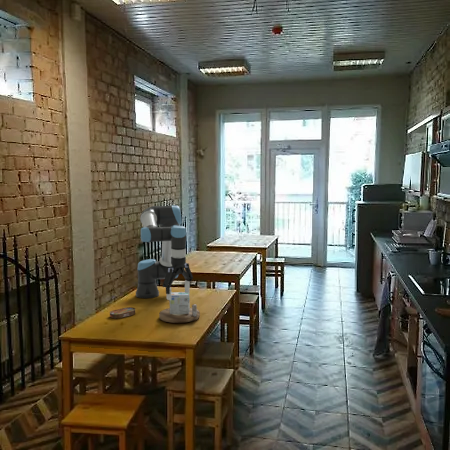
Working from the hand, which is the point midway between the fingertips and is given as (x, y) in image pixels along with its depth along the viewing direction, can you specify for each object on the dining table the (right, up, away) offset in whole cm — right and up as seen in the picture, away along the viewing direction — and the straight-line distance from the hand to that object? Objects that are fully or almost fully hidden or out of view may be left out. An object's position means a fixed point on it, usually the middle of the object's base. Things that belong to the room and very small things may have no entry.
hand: (178, 296), depth 235 cm
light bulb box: (-1, -11, +15) cm, 19 cm away
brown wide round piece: (-1, -13, +15) cm, 20 cm away
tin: (-36, -13, +24) cm, 45 cm away
